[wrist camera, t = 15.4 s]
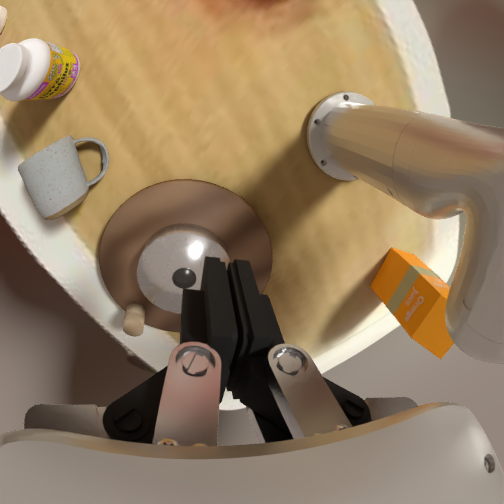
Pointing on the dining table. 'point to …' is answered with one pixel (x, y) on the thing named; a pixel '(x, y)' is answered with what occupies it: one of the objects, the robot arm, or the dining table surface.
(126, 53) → the dining table surface
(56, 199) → the ceramic mug
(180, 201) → the lazy susan
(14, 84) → the supplement bottle
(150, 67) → the dining table surface
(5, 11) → the bottle
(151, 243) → the steel cover
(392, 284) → the orange juice
